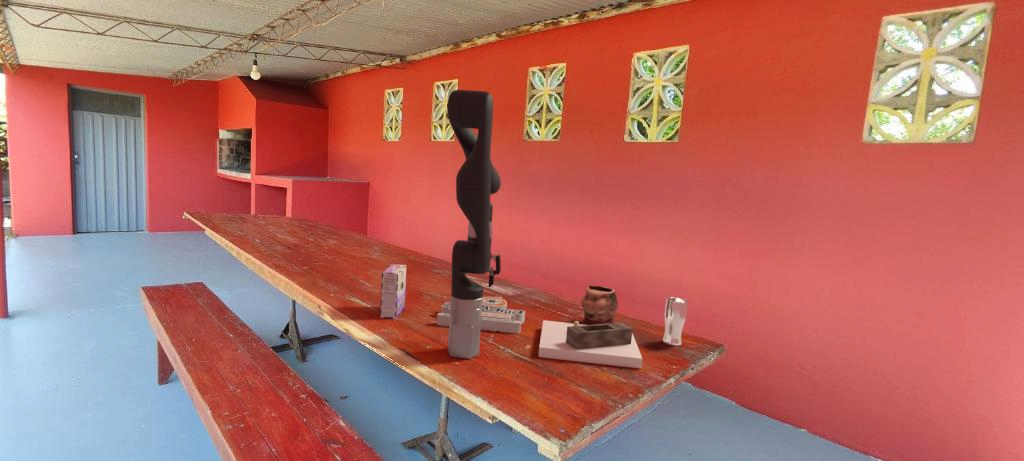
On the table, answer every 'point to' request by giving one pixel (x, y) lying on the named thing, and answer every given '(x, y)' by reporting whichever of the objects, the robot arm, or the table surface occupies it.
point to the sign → (491, 316)
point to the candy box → (393, 291)
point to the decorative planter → (599, 305)
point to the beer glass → (674, 320)
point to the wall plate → (559, 349)
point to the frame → (598, 335)
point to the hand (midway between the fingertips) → (476, 285)
